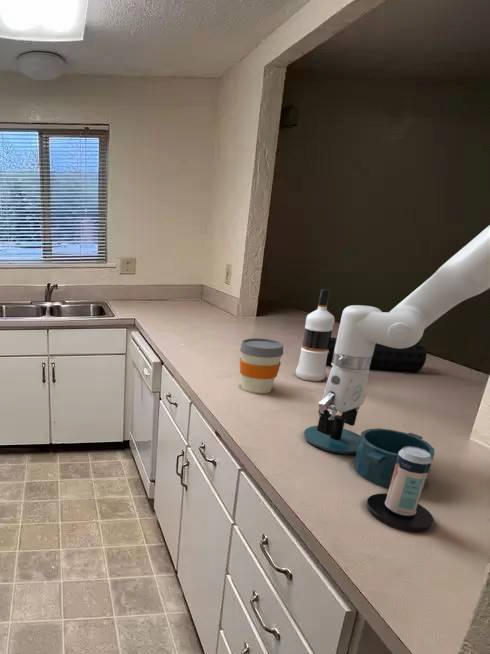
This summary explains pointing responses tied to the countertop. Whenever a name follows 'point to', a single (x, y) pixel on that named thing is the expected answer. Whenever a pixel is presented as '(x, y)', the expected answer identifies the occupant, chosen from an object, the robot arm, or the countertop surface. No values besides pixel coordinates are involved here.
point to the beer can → (408, 480)
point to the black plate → (407, 523)
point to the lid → (334, 438)
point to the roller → (391, 357)
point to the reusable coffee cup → (259, 364)
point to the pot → (384, 453)
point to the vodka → (316, 342)
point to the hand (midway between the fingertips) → (335, 428)
